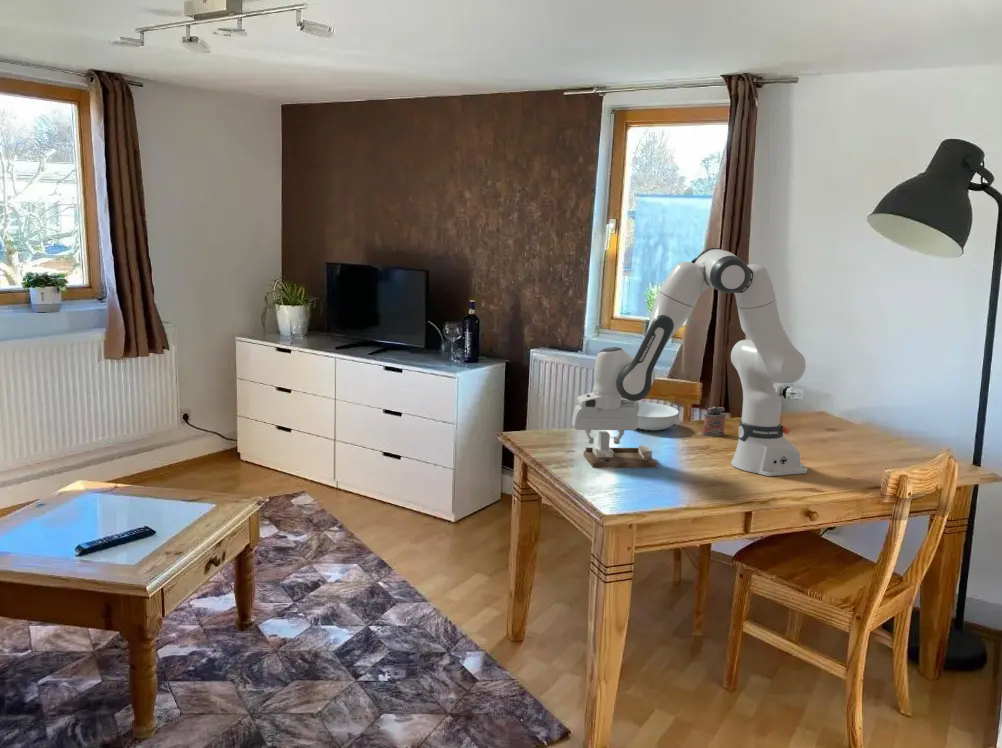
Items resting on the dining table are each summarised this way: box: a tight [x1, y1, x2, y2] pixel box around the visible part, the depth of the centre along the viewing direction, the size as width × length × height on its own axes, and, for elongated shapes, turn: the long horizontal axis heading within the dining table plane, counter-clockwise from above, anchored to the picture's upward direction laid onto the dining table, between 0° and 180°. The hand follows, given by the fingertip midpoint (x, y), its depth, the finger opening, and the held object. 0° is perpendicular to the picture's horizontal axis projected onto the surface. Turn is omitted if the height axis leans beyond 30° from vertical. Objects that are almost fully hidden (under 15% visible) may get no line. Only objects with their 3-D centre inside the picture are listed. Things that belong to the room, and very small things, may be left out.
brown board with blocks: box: [582, 445, 658, 469], centre depth 248 cm, size 20×12×4 cm, turn 98°
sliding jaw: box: [592, 430, 614, 460], centre depth 246 cm, size 5×9×7 cm, turn 8°
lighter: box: [701, 406, 727, 437], centre depth 283 cm, size 8×3×10 cm, turn 104°
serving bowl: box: [635, 401, 680, 432], centre depth 289 cm, size 21×21×7 cm
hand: (603, 443), depth 248 cm, fingers open, 7 cm apart
